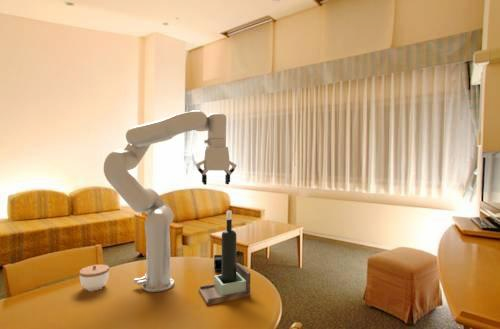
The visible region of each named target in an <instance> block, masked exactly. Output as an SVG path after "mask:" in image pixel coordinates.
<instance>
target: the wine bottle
mask: <svg viewBox="0 0 500 329" xmlns="http://www.w3.org/2000/svg"><path fill="white" fill-rule="evenodd" d="M232 211H233V210H231V209H230V210H226V212H225V215H226V219H225V220H226V230H224V231H223V232H222V233H221V255H222V272H221V274H222V283H223V284H226V283H232V282H236V263H237V233H236V231H235V230H233V229H232V228H233V225H232V223H233V222H232V221H233V212H232Z"/></svg>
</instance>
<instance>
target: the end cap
mask: <svg viewBox="0 0 500 329" xmlns="http://www.w3.org/2000/svg"><path fill="white" fill-rule="evenodd" d="M213 262H214V263H213V267H214V273H222V254H214V256H213Z"/></svg>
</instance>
